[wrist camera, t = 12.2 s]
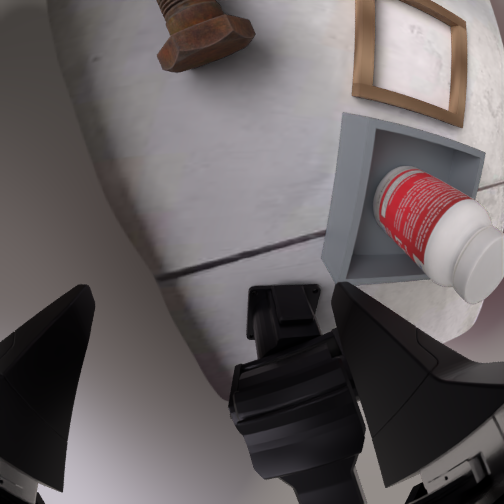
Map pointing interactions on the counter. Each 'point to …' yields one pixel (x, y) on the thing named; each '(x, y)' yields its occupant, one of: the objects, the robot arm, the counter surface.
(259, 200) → the counter surface
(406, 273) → the bin
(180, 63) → the bolt
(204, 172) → the counter surface
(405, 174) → the pill bottle
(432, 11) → the wooden frame
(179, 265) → the counter surface
